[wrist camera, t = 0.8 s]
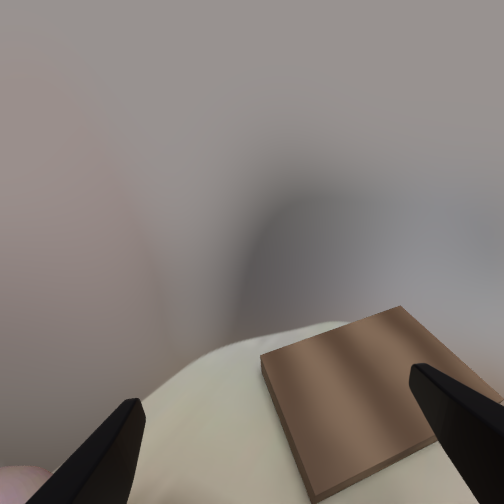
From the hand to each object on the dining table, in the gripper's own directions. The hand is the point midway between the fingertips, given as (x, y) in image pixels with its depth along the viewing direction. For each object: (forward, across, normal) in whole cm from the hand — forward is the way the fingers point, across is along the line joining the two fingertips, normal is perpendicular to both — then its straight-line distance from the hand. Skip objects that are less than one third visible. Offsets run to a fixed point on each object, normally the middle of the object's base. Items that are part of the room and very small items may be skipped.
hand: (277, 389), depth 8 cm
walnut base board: (+10, -9, +14) cm, 19 cm away
